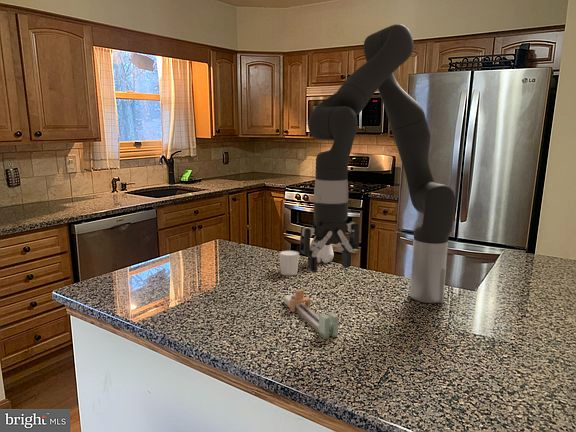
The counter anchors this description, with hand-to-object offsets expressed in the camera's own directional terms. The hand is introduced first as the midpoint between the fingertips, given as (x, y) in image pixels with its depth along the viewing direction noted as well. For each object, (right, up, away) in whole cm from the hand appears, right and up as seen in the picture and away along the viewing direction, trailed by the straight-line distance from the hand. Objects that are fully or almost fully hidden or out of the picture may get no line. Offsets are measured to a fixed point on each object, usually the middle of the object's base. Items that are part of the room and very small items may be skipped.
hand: (329, 269), depth 98 cm
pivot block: (-7, -12, +20) cm, 25 cm away
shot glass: (-9, -7, +47) cm, 48 cm away
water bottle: (+4, -5, +60) cm, 60 cm away
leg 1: (-4, -14, +9) cm, 18 cm away
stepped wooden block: (-6, -13, +17) cm, 22 cm away
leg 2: (-2, -14, +10) cm, 18 cm away
